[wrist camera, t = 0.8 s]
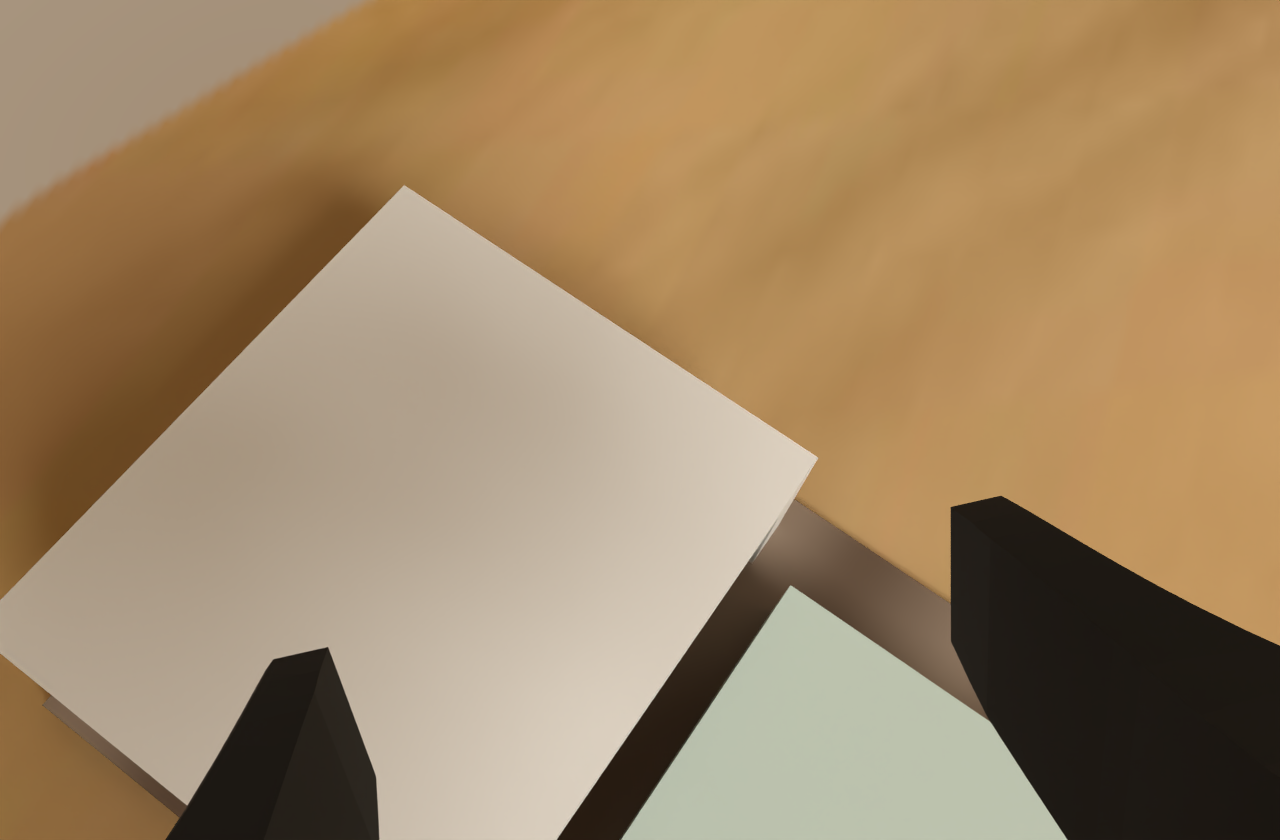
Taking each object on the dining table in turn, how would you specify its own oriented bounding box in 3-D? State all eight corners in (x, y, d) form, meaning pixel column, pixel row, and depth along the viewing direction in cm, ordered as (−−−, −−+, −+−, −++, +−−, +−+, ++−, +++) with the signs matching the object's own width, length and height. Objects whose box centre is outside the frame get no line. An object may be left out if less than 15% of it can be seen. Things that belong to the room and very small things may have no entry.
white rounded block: (778, 525, 28) (817, 457, 24) (459, 989, 23) (438, 1009, 19) (425, 287, 30) (404, 185, 25) (69, 675, 25) (-29, 629, 21)
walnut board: (1264, 823, 26) (1276, 822, 26) (982, 1469, 21) (991, 1482, 21) (447, 275, 30) (445, 265, 30) (51, 708, 25) (42, 704, 25)
